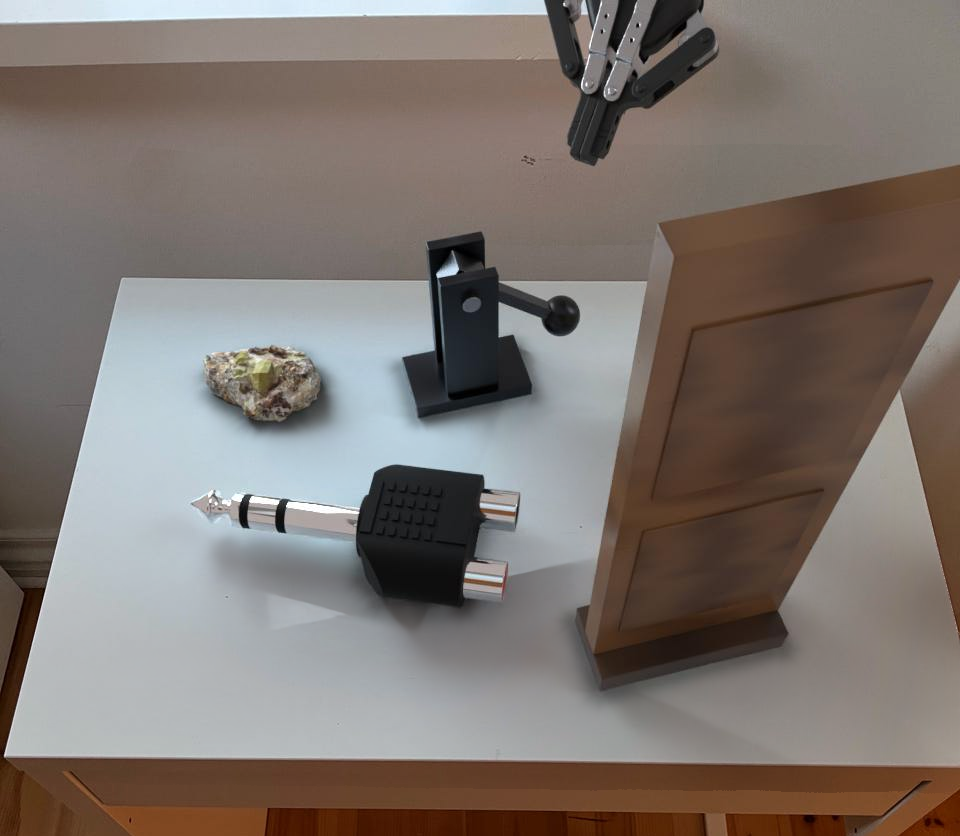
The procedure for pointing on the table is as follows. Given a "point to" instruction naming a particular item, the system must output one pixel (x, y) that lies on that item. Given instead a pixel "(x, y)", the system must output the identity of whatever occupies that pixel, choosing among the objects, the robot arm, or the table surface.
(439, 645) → the table surface
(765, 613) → the door
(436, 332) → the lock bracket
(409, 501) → the audio adapter
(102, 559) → the table surface
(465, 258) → the lever
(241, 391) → the mineral rock
